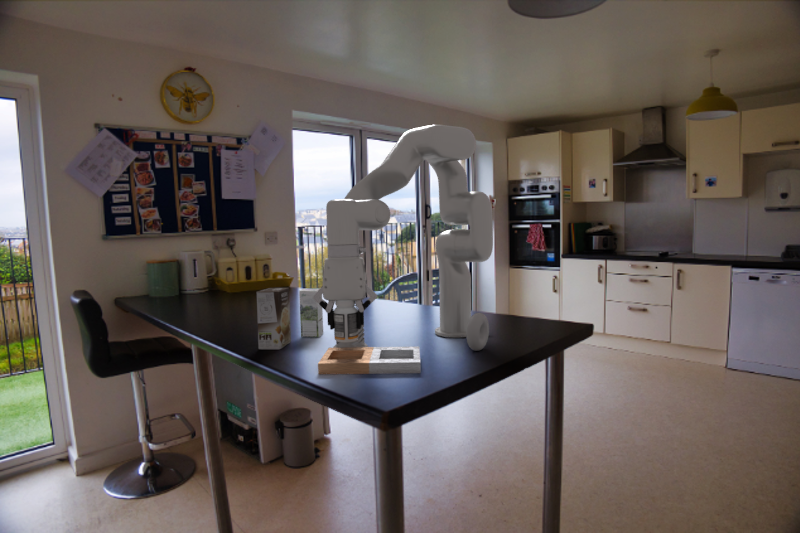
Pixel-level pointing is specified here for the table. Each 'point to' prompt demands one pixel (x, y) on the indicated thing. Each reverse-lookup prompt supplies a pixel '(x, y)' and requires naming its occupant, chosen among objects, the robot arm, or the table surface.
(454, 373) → the table surface
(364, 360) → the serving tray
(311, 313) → the syrup box
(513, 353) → the table surface
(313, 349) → the table surface
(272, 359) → the table surface
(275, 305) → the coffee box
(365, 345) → the french press
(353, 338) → the pill bottle
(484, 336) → the donut
